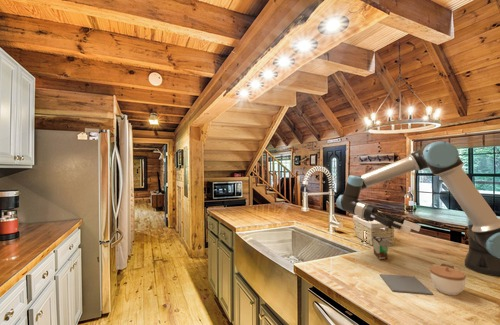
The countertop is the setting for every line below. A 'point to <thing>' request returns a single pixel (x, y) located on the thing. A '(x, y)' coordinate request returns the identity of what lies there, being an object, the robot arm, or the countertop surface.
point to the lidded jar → (447, 279)
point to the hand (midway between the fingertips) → (415, 229)
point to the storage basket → (372, 230)
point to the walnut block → (447, 265)
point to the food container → (380, 247)
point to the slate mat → (405, 284)
